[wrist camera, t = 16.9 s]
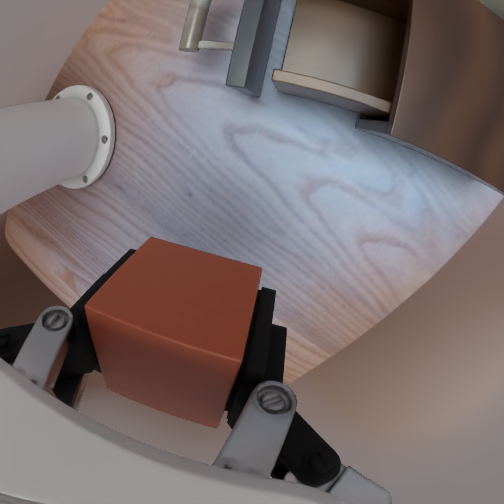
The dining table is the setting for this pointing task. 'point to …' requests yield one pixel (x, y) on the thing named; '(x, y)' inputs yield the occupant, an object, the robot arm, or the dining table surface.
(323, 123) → the dining table surface
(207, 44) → the drawer
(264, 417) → the robot arm
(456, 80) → the cabinet
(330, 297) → the dining table surface
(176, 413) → the block
